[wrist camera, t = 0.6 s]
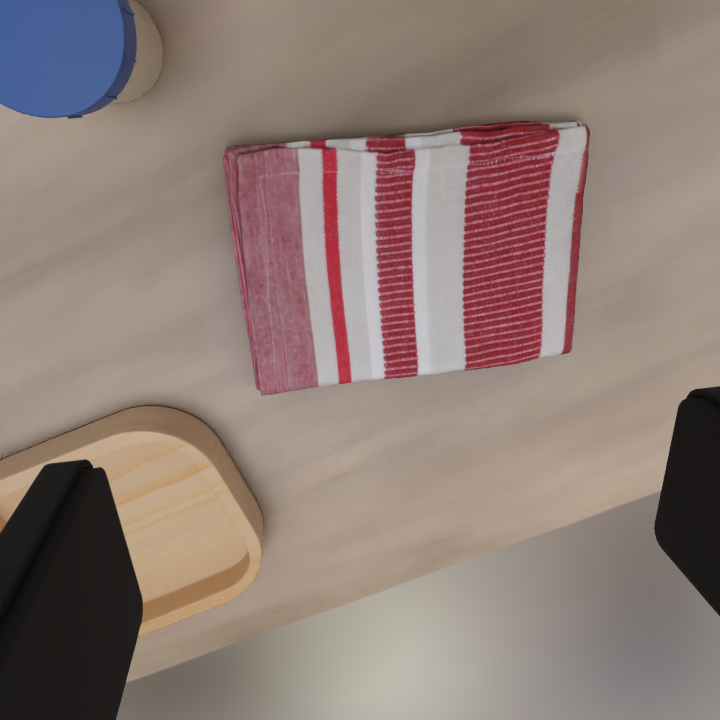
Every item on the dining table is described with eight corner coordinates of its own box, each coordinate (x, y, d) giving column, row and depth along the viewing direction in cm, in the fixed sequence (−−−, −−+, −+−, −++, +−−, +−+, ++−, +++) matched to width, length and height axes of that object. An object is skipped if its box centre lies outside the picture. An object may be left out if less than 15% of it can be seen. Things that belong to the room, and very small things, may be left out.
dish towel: (218, 144, 35) (214, 148, 33) (582, 115, 37) (603, 116, 35) (257, 387, 42) (256, 404, 40) (562, 351, 44) (578, 365, 42)
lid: (-53, -84, 22) (-86, -103, 20) (132, -57, 23) (118, -72, 21) (-23, 107, 25) (-50, 108, 23) (141, 124, 26) (129, 126, 24)
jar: (49, -21, 31) (-60, -79, 21) (161, -6, 32) (107, -55, 22) (61, 97, 33) (-33, 95, 23) (165, 107, 34) (118, 110, 24)
